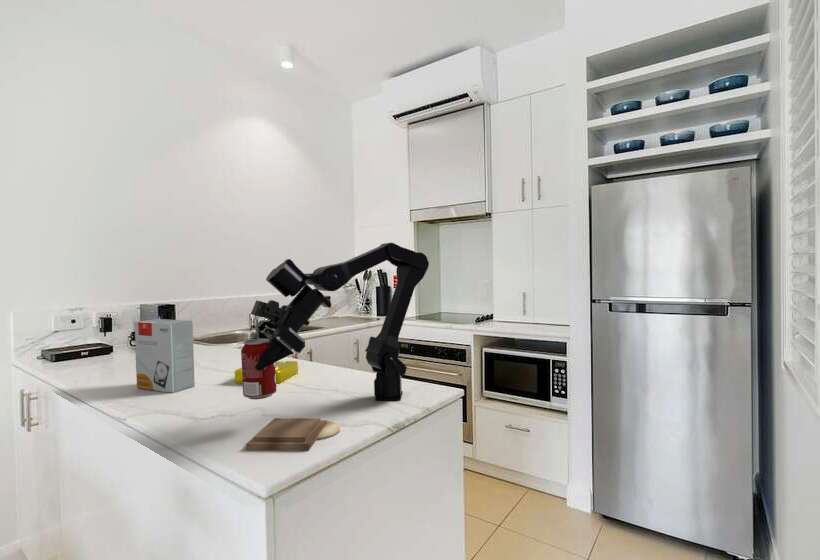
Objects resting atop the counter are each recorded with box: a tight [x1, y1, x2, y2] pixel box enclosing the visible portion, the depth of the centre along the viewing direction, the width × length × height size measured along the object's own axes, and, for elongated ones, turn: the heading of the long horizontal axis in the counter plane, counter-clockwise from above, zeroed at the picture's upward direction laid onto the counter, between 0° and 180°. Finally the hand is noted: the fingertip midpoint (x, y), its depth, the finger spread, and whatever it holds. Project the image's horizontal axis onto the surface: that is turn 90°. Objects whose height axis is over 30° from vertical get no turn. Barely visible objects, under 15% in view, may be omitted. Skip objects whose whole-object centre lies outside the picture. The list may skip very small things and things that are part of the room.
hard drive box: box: [133, 318, 196, 394], centre depth 123 cm, size 16×8×20 cm, turn 68°
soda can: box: [240, 338, 277, 401], centre depth 89 cm, size 7×7×12 cm
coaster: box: [316, 420, 341, 441], centre depth 86 cm, size 9×9×1 cm
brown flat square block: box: [245, 417, 328, 451], centre depth 83 cm, size 12×12×2 cm
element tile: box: [234, 360, 299, 385], centre depth 131 cm, size 15×15×5 cm
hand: (252, 366), depth 88 cm, fingers closed on soda can, 7 cm apart
